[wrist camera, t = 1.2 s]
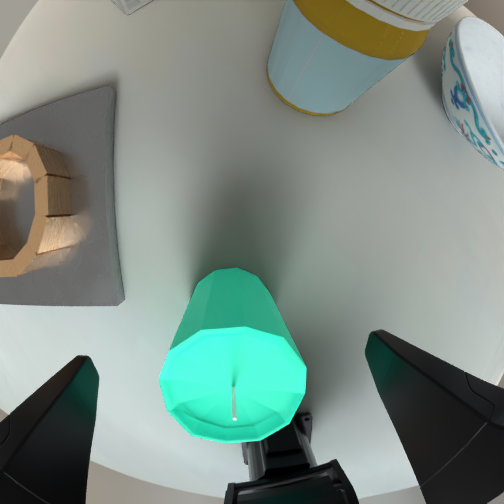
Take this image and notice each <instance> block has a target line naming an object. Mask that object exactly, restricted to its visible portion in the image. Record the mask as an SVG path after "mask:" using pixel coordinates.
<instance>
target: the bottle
mask: <svg viewBox="0 0 504 504" xmlns="http://www.w3.org/2000/svg"><path fill="white" fill-rule="evenodd" d="M467 1H468V0H286V1H285V5H284V8H283V11H282V15H281V18H280V21H279V25H278V28H277V31H276V35H275V38H274V42H273V45H272V49H271V52H270V56H269V60H268V65H267V76H268V80H269V83H270V85H271V87H272V89H273V91H274V92H275V93H276V94H277V96H278V97H279V98H280V99H281V100H282V101H283V102H285V103H286V104H287V105H289V106H291V107H292V108H294V109H295V110H298V111H300V112H303V113H306V114H310V115H317V116H327V115H331V114H335V113H338V112H340V111H342V110H343V109H344V108H346V107H347V106H349V105H350V104H351V103H352V102H354V101H355V100H356V99H357V98H358V97H360V96H361V95H362V94H363V93H365V92H366V91H367V90H368V89H369V88H371V87H372V86H373V85H374V84H376V83H377V82H378V81H379V80H381V79H382V78H383V77H384V76H386V75H387V74H388V73H389V72H391V71H392V70H393V69H394V68H396V67H397V66H398V65H400V64H401V63H402V62H403V61H405V60H406V59H407V58H409V57H410V56H411V55H413V54H414V53H415V52H416V51H417V50H418V49H420V48H421V47H422V45H423V43H424V40H425V38H426V36H427V33H428V31H429V29H430V28H431V27H433V26H434V25H435V24H436V23H437V22H438V21H439V20H442V19H444V18H445V17H447V16H448V15H449V14H451V13H452V12H453V11H455V10H456V9H457V8H459V7H460V6H461V5H463V4H464V3H466V2H467Z"/></svg>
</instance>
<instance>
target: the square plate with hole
mask: <svg viewBox="0 0 504 504" xmlns="http://www.w3.org/2000/svg"><path fill="white" fill-rule="evenodd" d="M115 100H116V92H115V91H114V90H113V89H112V88H111V87H110V86H105V87H101V88H97V89H94V90H90V91H87V92H83V93H80V94H77V95H74V96H71V97H67V98H64V99H62V100H59V101H56V102H53V103H50V104H48V105H45V106H42V107H40V108H37V109H35V110H32V111H30V112H28V113H25V114H23V115H21V116H18V117H16V118H14V119H12V120H10V121H7V122H5V123H3V124H1V125H0V304H12V305H40V306H118V305H119V304H120V303H122V302H123V301H124V300H125V298H124V292H123V285H122V278H121V271H120V263H119V255H118V246H117V235H116V223H115V209H114V186H113V136H114V114H115Z"/></svg>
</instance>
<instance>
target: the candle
mask: <svg viewBox="0 0 504 504" xmlns="http://www.w3.org/2000/svg"><path fill="white" fill-rule="evenodd" d="M306 371H307V367H306V365H305V363H304V361H303V359H302V357H301V355H300V353H299V351H298V349H297V347H296V345H295V343H294V341H293V339H292V337H291V335H290V333H289V331H288V329H287V327H286V325H285V323H284V320H283V318H282V316H281V314H280V312H279V310H278V308H277V306H276V304H275V302H274V300H273V298H272V296H271V294H270V292H269V291H268V290H267V288H266V287H265V286H264V284H263V283H262V282H261V280H260V279H259V278H258V276H256V275H254V274H251V273H249V272H247V271H244V270H242V269H240V268H229V269H219V270H214V271H213V272H212V273H210V274H209V275H208V276H206V277H205V278H204V279H202V280H201V281H199V282H198V283H197V286H196V288H195V290H194V293H193V295H192V297H191V300H190V302H189V304H188V307H187V309H186V311H185V314H184V316H183V318H182V321H181V323H180V325H179V328H178V330H177V333H176V335H175V338H174V340H173V342H172V345H171V347H170V350H169V352H168V355H167V358H166V360H165V363H164V366H163V368H162V371H161V374H160V376H159V383H160V387H161V391H162V395H163V398H164V402H165V405H166V409H167V411H168V412H169V413H170V414H171V415H172V416H173V418H174V419H175V420H176V421H177V422H178V423H179V424H180V425H181V426H182V427H183V428H184V429H185V430H186V431H187V432H188V433H189V434H190V435H191V436H194V437H198V438H203V439H207V440H212V441H217V442H222V443H237V442H251V441H260V440H262V439H264V438H266V437H268V436H269V435H271V434H273V433H275V432H276V431H278V430H280V429H281V428H283V427H285V426H286V425H288V424H290V422H291V420H292V418H293V416H294V414H295V412H296V410H297V409H298V407H299V405H300V403H301V401H302V399H303V397H304V395H305V389H306Z"/></svg>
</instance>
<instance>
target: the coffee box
mask: <svg viewBox="0 0 504 504" xmlns="http://www.w3.org/2000/svg"><path fill="white" fill-rule="evenodd" d="M111 1H113V2H114V3H115V4H116V5H117V6H118V7H119V8H120V9H121V10H122V11H123V12H124V13H125V14H126V15H129V14H131V13H133V12H134V11H136V10H137V9H139V8H140V7H142V6H144V5H145V4H147V3H149V2H150V1H152V0H111Z"/></svg>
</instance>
